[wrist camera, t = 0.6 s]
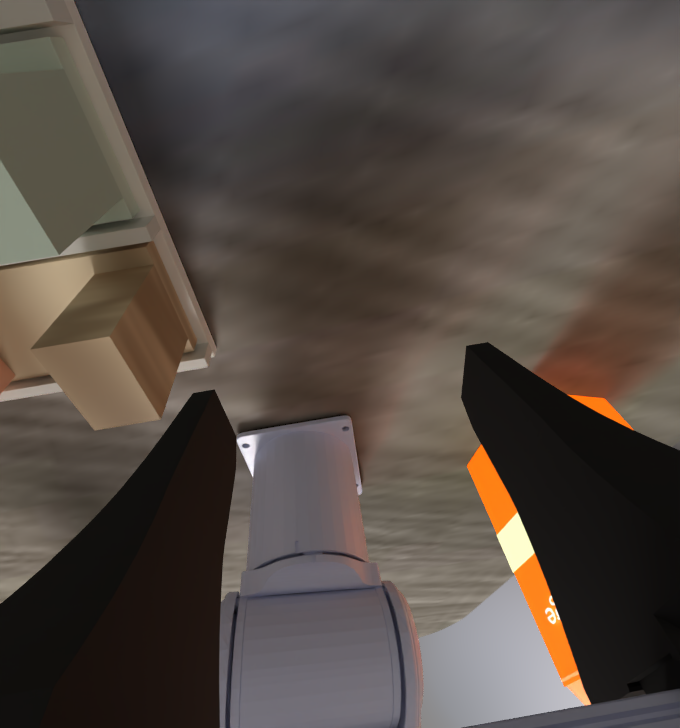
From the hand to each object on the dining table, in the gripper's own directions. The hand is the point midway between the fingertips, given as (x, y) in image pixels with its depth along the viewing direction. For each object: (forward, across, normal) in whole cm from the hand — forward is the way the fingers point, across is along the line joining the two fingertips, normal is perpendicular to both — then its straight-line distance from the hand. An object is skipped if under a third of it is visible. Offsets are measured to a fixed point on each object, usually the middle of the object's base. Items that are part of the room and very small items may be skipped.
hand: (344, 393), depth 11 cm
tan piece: (+9, +14, 0) cm, 17 cm away
